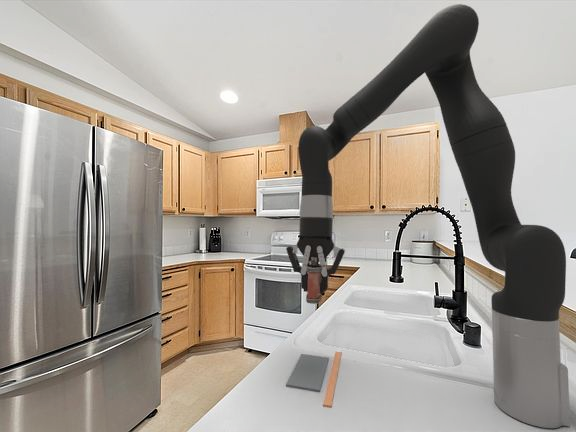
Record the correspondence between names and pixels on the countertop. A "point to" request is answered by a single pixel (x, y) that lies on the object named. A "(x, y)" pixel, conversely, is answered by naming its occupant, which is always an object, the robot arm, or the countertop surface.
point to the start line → (332, 381)
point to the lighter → (314, 282)
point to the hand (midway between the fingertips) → (314, 291)
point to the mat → (308, 373)
